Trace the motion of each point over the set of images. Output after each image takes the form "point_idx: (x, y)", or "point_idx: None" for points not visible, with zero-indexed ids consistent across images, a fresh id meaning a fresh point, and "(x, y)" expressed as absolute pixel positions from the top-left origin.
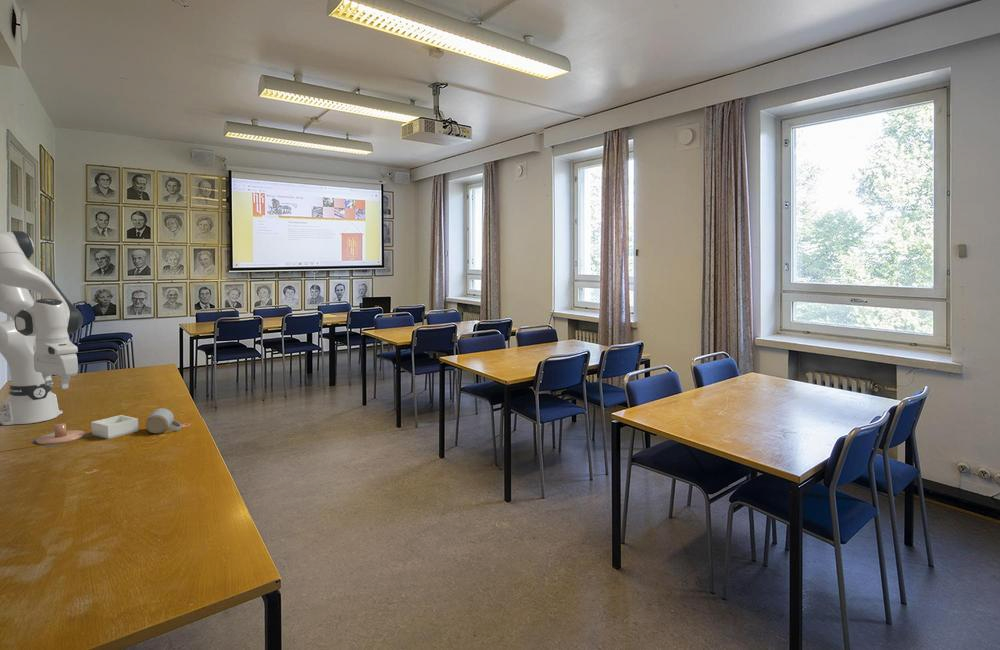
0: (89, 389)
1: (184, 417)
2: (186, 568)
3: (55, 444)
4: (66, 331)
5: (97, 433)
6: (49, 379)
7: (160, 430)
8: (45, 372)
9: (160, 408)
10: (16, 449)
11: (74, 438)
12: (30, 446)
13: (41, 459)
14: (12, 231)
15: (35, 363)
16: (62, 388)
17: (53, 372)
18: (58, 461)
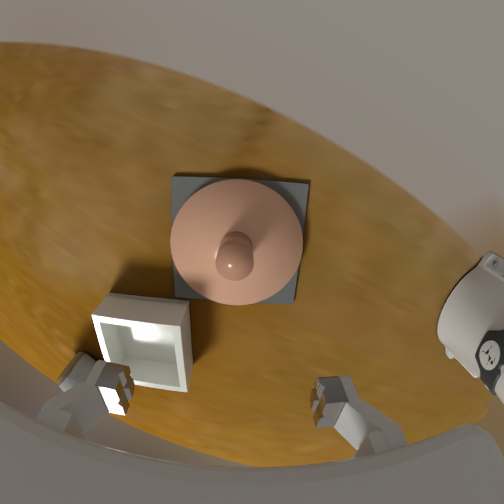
0: (483, 410)
1: (163, 431)
2: None
3: (178, 199)
4: None
5: (156, 303)
6: (341, 423)
7: (71, 360)
8: (303, 473)
9: None
10: (256, 123)
11: (171, 252)
12: (247, 159)
13: (89, 119)
14: None
15: (487, 482)
16: (104, 361)
17: (110, 470)
18: (46, 139)
